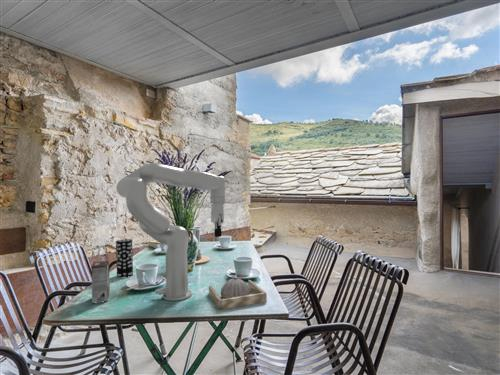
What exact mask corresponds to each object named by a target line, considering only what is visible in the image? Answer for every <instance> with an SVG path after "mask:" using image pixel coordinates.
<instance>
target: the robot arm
mask: <svg viewBox="0 0 500 375" xmlns="http://www.w3.org/2000/svg"><path fill="white" fill-rule="evenodd" d="M151 183H155V184H162V185H166V186H167V185H168V186H173V187H176V188H177V187H178V188H195V189H197V190H198V191H205V192H206V191H209V192H210V193H209V195H210V196H209V198H210V199H209V201H210V204H211V207H210V208H211V210H210V221H211V223H213V224H214V228H213V229H214V237H215V238H221V237H222V224H223V223H224V219H225V213H224V212H225V211H224V210H225V209H224V204H226V178H225V176H221V175H216V174H212V173H209V172H204V171H198V170H193V169H187V168H180V167H176V166H171V165H167V164H163V163H158V162H151V163H147V164H143V165H142V166H140V167H138V168H137V169H135V170H134V171H132V172H131V173H129V174H126V176H123V177H122V178H121V179H119V181H118V182H117V183H116V192H117V194H118V195H119V196H120V197H122V198H125V202H126V208H127V210H128V212H129V213H130V214H131V216H132V217H133V218H134V219H136V220H137V221H138V226H139V227H140V229H141V230H142V231H143V232H144V233H145V234H146V235H148V237H151V238H152V239H153V240H155V241H156V242H158V243H160V244H161V245H163V246H164V245H165V246H167V248H166V252H165V285H164V287H162V288H157V289H155V294H156V295H157V294H158V295H159V296H160V295H161V296H162V298H163V300H165V301H169V302H170V301H171V302H176V301H184V300H186V299H189V298H191V296H192V294H193V292H192V290H190V289H189V281H188V280H189V278H188V276H189V275H188V274H189V272H188V269H189V268H188V246H189V240H190V237H189V231H188V230H187V229H186V228H185V227H183V226H180V225H173V224H171V221H170V219H169V217H168V216H167V215H166V214H164V213H163V212H162V211H161V210H159V209H158V208H156V207H155V205H153V203H151V202H150V201H149V199H148V195H147V194H148V193H147V191H148V187H147V186H148V185H149V184H151Z"/></svg>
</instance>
